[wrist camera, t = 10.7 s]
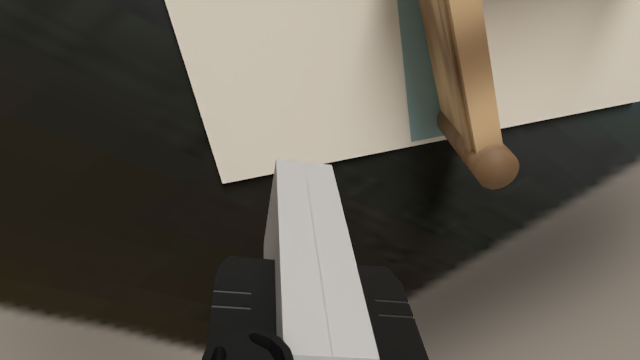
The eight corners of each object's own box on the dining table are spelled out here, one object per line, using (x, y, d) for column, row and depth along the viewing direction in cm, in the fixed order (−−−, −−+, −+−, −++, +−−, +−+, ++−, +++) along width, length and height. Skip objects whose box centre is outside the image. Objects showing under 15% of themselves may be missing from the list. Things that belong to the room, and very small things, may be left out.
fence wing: (387, -111, 26) (423, -117, 20) (428, -126, 26) (479, -136, 19) (440, 139, 33) (480, 194, 26) (473, 128, 33) (521, 181, 26)
